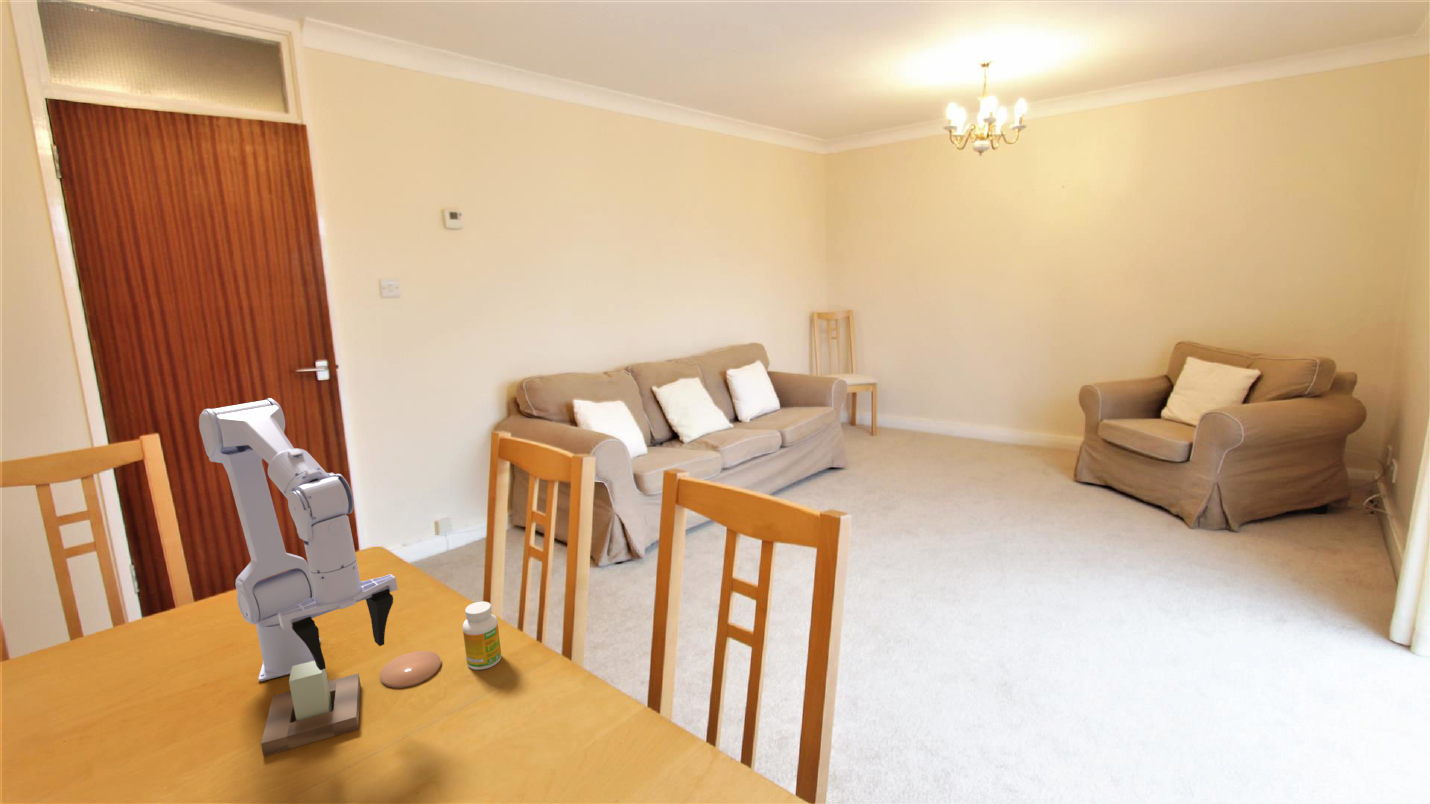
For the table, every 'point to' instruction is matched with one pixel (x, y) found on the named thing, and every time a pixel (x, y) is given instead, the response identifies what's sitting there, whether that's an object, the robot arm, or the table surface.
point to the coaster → (410, 669)
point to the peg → (309, 691)
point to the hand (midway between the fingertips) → (351, 654)
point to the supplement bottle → (481, 636)
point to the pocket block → (312, 718)
